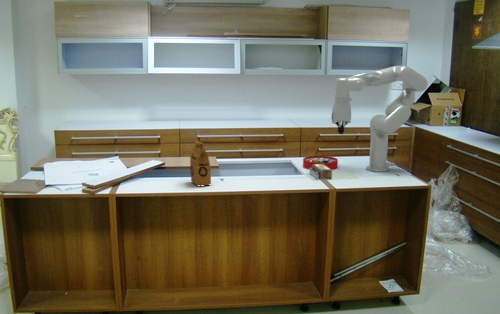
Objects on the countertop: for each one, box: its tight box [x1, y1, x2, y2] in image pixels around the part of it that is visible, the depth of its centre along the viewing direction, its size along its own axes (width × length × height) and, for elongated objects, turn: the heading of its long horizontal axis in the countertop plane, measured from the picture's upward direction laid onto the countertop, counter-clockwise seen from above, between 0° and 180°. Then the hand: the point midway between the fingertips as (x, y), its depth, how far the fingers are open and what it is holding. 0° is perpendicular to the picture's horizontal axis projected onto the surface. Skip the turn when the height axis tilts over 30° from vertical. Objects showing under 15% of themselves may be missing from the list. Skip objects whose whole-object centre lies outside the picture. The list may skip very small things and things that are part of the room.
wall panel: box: [303, 170, 359, 182], centre depth 249 cm, size 26×16×1 cm, turn 100°
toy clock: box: [302, 155, 339, 171], centre depth 270 cm, size 20×6×20 cm
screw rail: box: [308, 168, 320, 181], centre depth 247 cm, size 2×13×4 cm, turn 10°
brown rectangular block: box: [312, 164, 333, 181], centre depth 248 cm, size 6×14×5 cm, turn 11°
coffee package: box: [189, 140, 212, 186], centre depth 236 cm, size 10×12×22 cm
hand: (340, 133), depth 257 cm, fingers closed
